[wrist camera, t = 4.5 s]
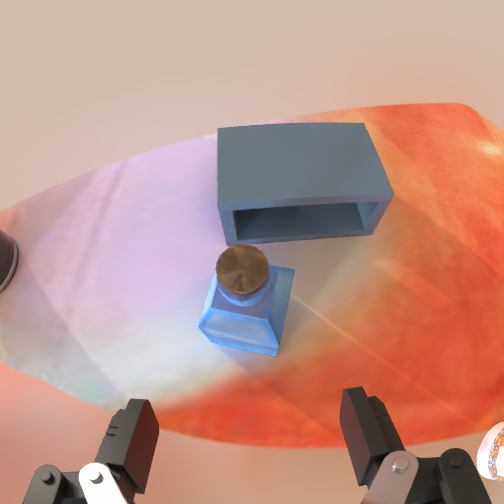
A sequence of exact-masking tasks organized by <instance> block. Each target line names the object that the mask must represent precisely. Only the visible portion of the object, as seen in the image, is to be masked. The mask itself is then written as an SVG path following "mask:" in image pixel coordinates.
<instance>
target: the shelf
mask: <svg viewBox="0 0 504 504" xmlns="http://www.w3.org/2000/svg"><path fill="white" fill-rule="evenodd" d="M393 194H394V193H393V191H392V188H391V185H390V183H389V180H388V178H387V175H386V173H385V170H384V168H383V165H382V163H381V161H380V158H379V156H378V154H377V151H376V149H375V147H374V144H373V142H372V140H371V138H370V136H369V133H368V131H367V129H366V127H365V125H364V123H284V124H265V125H250V126H238V127H227V128H218V129H217V205H218V210H219V214H220V218H221V222H222V227H223V231H224V235H225V239H226V244H227V246H232V245H239V244H256V243H269V242H282V241H294V240H307V239H320V238H334V237H347V236H361V235H372V234H373V232H374V230H375V228H376V226H377V224H378V222H379V220H380V219H381V217H382V215H383V213H384V211H385V209H386V207H387V206H388V204H389V202H390V200H391V198H392V196H393Z"/></svg>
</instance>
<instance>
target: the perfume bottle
mask: <svg viewBox="0 0 504 504" xmlns="http://www.w3.org/2000/svg"><path fill="white" fill-rule="evenodd" d="M293 275H294V270H293V269H288V268H283V267H277V266H272V265H268V262H267V258H266V257H265V255H264V254H263V252H262V251H260V250H259V249H257V248H256V247H254V246H251V245H245V244H239V245H235V246H232V247H230V248H228V249H227V250H225V251H224V252H223V253H222V254H221V255H219V259H218V261H217V264H216V268H215V272H214V275H213V278H212V282H211V285H210V288H209V292H208V295H207V298H206V302H205V305H204V309H203V312H202V315H201V319H200V322H199V326H198V328H199V329H200V330H201V331H202V332H203V333H204V334H205V335H206V336H207V338H208V339H209V340H210V341H211V342H214V343H218V344H222V345H226V346H230V347H235V348H239V349H243V350H248V351H252V352H257V353H262V354H266V355H271V356H276V355H277V351H278V347H279V343H280V338H281V333H282V329H283V324H284V319H285V315H286V310H287V305H288V300H289V295H290V290H291V285H292V280H293Z"/></svg>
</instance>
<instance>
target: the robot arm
mask: <svg viewBox="0 0 504 504" xmlns="http://www.w3.org/2000/svg"><path fill="white" fill-rule="evenodd" d="M17 260H18V248H17V244H16V242H15V241H14V240H13V239H12V238H11V237H10V236H8V235H7V234H6V233H4V232H3V231H2V230H1V229H0V292H1V291H2V290H3V289H4V288H5V287H6V286H7V285H8V283H9V282H10V280H11V278H12V276H13V274H14V271H15V268H16V265H17ZM340 424H341V428H342V431H343V434H344V438H345V441H346V444H347V448H348V451H349V454H350V458H351V461H352V465H353V468H354V471H355V474H356V478H357V482H358V485H359V486H363V485H367V487H368V492H367V494H366V495H365V497H364V499H363V501H362V502H361V504H492V503H491V500H490V498H489V496H488V494H487V491H486V489H485V487H484V485H483V482H482V480H481V478H480V476H479V474H478V472H477V469H476V468H475V466H474V463H473V461H472V459H471V457H470V456H469V454H468V453H467V452H466V451H464V450H462V449H459V448H453V449H449V450H447V451H445V452H444V453H443V454H442V455H441V457H436V458H418V457H415V456H414V455H413V454H412V453H410V452H407V451H406V450H405V448H404V446H403V444H402V442H401V440H400V437H399V435H398V433H397V431H396V429H395V427H394V424H393V422H391V418H390V416H389V414H388V412H387V410H386V407H385V405H384V403H383V402H382V401H380V400H379V399H378V398H377V397H376V396H372V397H367V395H366V393H365V391H364V389H363V387H362V386H360V387H355V388H349V389H344V390H343V396H342V402H341V409H340ZM158 435H159V424H158V421H157V419H156V416H155V414H154V411H153V409H152V406H151V404H150V402H149V400H145V399H130V400H129V402H128V405H127V407H126V410H123V409H120V410H119V411H118V412H117V413H116V414H115V415H114V416H113V417H112V419H111V422H110V424H109V428H108V429H107V432H106V435H105V436H104V439H103V441H102V444H101V446H100V449H99V451H98V454H97V456H96V459H95V461H94V463H91V464H88V465H86V466H85V467H83V468H82V470H81V471H80V472H60V470H59V469H58V468H57V467H55V466H53V465H43V466H41V467H40V468H38V469H37V470H36V471H35V473H34V476H33V478H32V481H31V483H30V486H29V488H28V491H27V493H26V496H25V498H24V501H23V504H136V503H135V501H134V496H135V493H138V494H144V492H145V488H146V484H147V480H148V476H149V471H150V468H151V463H152V459H153V455H154V452H155V447H156V443H157V439H158Z"/></svg>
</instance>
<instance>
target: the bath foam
mask: <svg viewBox="0 0 504 504" xmlns="http://www.w3.org/2000/svg"><path fill="white" fill-rule="evenodd" d="M477 467H478V470H479V472H480V474H481V475H482V476H484V477H486V478H489V479H494V480H499V481H504V422H500V423H498V424H496V425H495V426H494V427H492V428H491V429H490V430H489V431H488V433H487V434H486V435H485V437H484V439H483V441H482V442H481V445H480V447H479V450H478V455H477Z"/></svg>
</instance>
